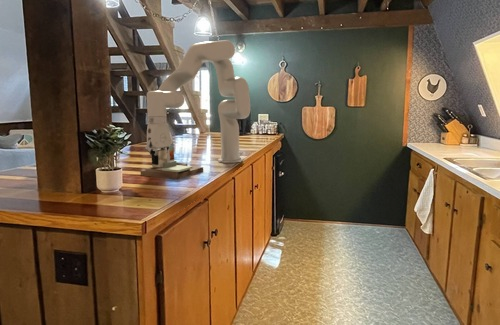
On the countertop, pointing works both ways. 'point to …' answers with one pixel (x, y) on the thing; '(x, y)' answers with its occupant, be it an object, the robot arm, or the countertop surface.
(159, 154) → the block
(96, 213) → the countertop surface
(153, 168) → the board
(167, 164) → the lid
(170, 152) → the milk bottle
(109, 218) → the countertop surface
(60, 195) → the countertop surface
